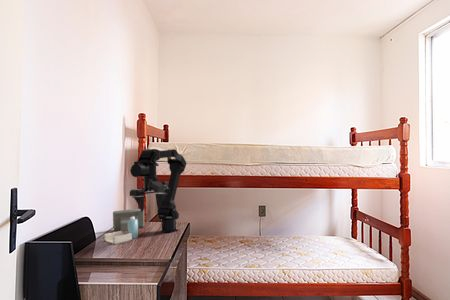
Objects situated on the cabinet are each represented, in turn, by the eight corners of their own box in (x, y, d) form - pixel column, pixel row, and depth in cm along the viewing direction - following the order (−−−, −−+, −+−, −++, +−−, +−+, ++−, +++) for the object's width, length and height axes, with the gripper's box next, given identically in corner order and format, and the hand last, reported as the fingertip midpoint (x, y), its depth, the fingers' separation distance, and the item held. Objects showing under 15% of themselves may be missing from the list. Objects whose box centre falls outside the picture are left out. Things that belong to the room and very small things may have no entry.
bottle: (134, 235, 149) (133, 215, 149) (140, 236, 146) (139, 216, 146) (126, 237, 145) (125, 217, 146) (131, 238, 142) (131, 218, 143)
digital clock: (145, 226, 169) (144, 207, 169) (143, 230, 160) (143, 209, 160) (115, 228, 166) (114, 209, 167) (111, 232, 158) (110, 211, 158)
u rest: (120, 237, 146) (120, 230, 147) (131, 240, 140) (131, 233, 140) (104, 240, 141) (104, 234, 141) (115, 244, 134) (115, 237, 134)
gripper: (143, 177, 130) (144, 214, 129) (177, 175, 144) (177, 208, 143) (128, 177, 137) (129, 212, 136) (161, 175, 151) (162, 207, 150)
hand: (150, 210), depth 141 cm, fingers open, 9 cm apart
